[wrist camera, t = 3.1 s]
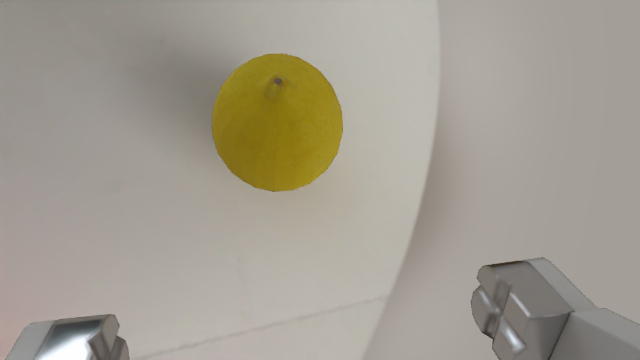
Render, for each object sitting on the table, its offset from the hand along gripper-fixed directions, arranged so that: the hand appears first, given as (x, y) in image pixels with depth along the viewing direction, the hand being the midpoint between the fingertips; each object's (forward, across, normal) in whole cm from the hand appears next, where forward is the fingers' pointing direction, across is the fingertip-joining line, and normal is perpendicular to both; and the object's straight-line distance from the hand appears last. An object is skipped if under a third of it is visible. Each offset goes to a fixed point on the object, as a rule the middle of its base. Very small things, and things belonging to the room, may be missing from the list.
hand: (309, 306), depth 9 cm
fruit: (+13, 0, +2) cm, 13 cm away
